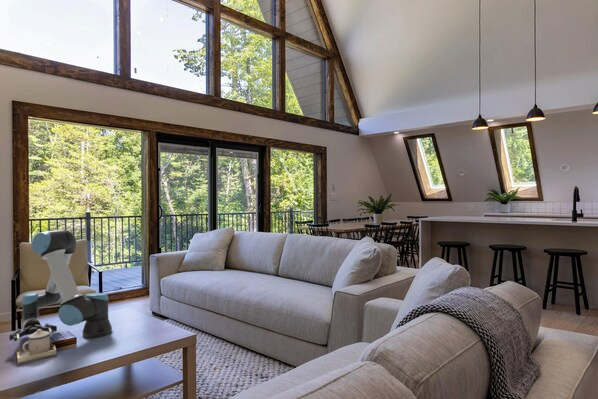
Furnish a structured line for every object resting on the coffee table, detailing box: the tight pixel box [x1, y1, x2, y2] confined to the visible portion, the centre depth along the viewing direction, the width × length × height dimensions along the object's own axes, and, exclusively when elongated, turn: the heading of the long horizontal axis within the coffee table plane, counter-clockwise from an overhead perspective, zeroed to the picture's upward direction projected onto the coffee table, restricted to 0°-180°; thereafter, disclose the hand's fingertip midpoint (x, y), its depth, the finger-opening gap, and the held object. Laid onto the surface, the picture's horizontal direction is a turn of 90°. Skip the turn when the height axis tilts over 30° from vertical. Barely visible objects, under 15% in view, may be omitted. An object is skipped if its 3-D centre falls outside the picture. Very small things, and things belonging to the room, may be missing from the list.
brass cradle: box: [16, 344, 58, 363], centre depth 187 cm, size 8×16×2 cm, turn 128°
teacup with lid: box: [21, 329, 51, 355], centre depth 190 cm, size 12×9×12 cm
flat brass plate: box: [15, 346, 58, 366], centre depth 192 cm, size 20×16×1 cm
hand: (35, 337), depth 191 cm, fingers open, 13 cm apart
